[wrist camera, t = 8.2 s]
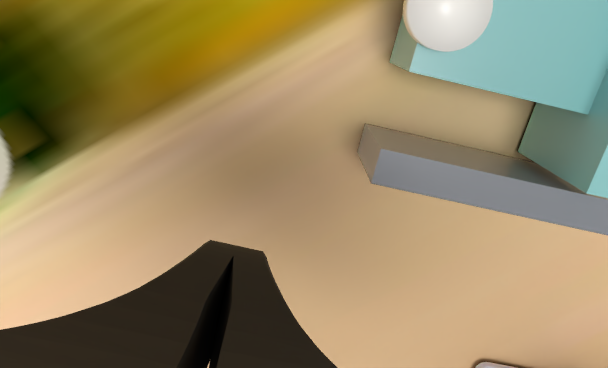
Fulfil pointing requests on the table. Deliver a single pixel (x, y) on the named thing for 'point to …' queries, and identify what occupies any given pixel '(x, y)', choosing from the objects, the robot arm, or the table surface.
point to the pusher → (525, 70)
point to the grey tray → (477, 179)
